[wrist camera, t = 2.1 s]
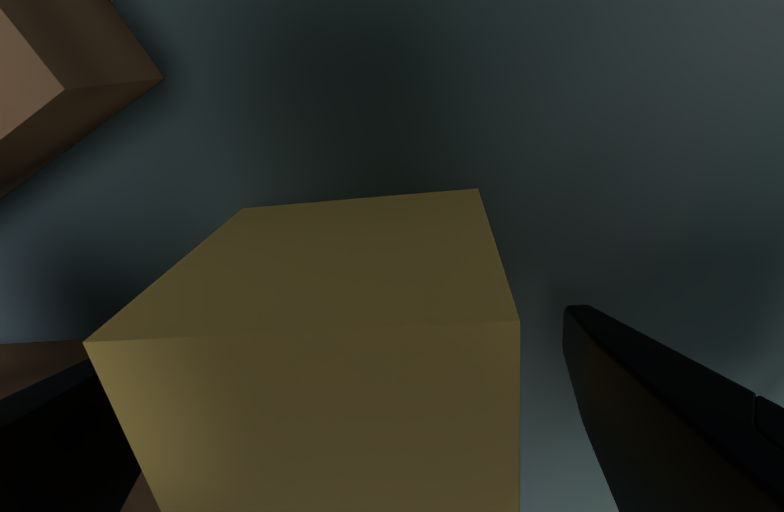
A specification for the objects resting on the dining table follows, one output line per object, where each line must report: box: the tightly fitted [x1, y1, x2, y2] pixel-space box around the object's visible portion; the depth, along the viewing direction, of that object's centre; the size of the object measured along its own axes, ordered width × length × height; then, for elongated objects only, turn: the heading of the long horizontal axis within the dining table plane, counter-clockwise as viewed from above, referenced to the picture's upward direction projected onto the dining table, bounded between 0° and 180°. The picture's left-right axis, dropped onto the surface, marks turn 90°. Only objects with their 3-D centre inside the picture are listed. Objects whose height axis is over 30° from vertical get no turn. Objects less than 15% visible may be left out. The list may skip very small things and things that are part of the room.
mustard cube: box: [82, 188, 520, 512], centre depth 8 cm, size 5×5×5 cm
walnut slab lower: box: [0, 339, 161, 512], centre depth 12 cm, size 7×7×3 cm
